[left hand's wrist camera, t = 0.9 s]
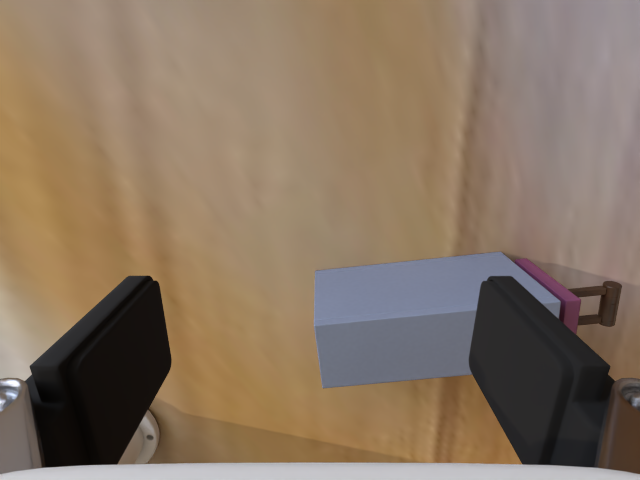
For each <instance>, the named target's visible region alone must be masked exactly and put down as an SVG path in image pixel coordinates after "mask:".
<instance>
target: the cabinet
mask: <svg viewBox="0 0 640 480" xmlns="http://www.w3.org/2000/svg"><path fill="white" fill-rule="evenodd" d="M490 276H512V277H513V278H514V279H516V280H517V281H518V282H519V283H520V284H521V285H522V286H523V287H524V288H525V289H526V290H528V291H529V292H530V293H531V294H532V295H533V296H534V297H535V298H536V299H537V300H539V301H540V302H541V303H542V304H543V305H544V306H545V307H546V308H547V309H548V310H549V311H551V312H552V313H553V314H554V315H555V316H556V317H557V318H558V319H559V313H560V305H561V301H560V300H559V299H557V298H556V297H555V296H554V295H553V294H551V293H550V292H549V291H548V290H546V289H545V288H544V287H543V286H542V285H540V284H539V283H538V282H537V281H536V280H534V279H533V278H532V277H531V276H529V275H528V274H527V273H526V272H525V271H523V270H522V269H521V268H520V267H519V266H517V265H516V264H515V263H514V262H512V261H511V260H510V259H509V258H508V257H506V256H505V255H504V254H503V253H502V252H494V253H484V254H474V255H465V256H455V257H445V258H435V259H426V260H416V261H406V262H397V263H387V264H377V265H368V266H358V267H348V268H339V269H329V270H319V271H315V305H314V329H315V336H316V344H317V351H318V358H319V366H320V373H321V380H322V388H332V387H343V386H353V385H364V384H375V383H386V382H397V381H408V380H418V379H429V378H440V377H451V376H462V375H473V374H472V373H471V371H470V367H469V353H470V347H471V341H472V335H473V329H474V323H475V317H476V311H477V304H478V298H479V292H480V286H481V283H482V282H483V281H487V279H488V277H490Z"/></svg>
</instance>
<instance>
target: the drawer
mask: <svg viewBox="0 0 640 480" xmlns="http://www.w3.org/2000/svg"><path fill="white" fill-rule="evenodd" d="M515 264H516V265H517V266H519V267H520V268H521V269H522V270H523V271H525V272H526V273H527V274H528V275H529V276H531V277H532V278H533V279H534V280H536V281H537V282H538V283H539V284H540V285H542V286H543V287H544V288H545V289H546V290H548V291H549V292H550V293H551V294H553V295H554V296H555V297H556V298H557V299H559V300H560V301H561V305H560V313H559V320H560V321H561V322H563V323H564V324H565V325H566V326H567V327H568V328H569V329H570V330H571V331H572V332H573V333H575V334H576V332H577V325H587V324H597V323H599V324H601V325H603V326H608V327H611V326H614V325H615V321H616V315H617V310H618V304H619V299H620V293H621V288H622V285H621V284H619V283H617V282H613V281H605V282H604V283H603V286H594V287H584V288H574V289H566V288H565V287H564V286H562V285H561V284H560V283H558V282H557V281H556V280H554V279H553V278H552V277H550V276H549V275H548V274H546V273H545V272H544V271H542V270H541V269H540V268H538V267H537V266H536V265H534V264H533V263H532V262H530V261H529V260H528V259H516V260H515ZM596 295H601V299H600V305H599V311H598V315H597V314H596V315H585V316H579V311H580V304H581V299H580V298H578V297H586V296H596Z"/></svg>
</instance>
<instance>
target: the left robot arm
mask: <svg viewBox="0 0 640 480" xmlns="http://www.w3.org/2000/svg"><path fill="white" fill-rule="evenodd" d="M170 367H171V353H170V347H169V341H168V335H167V329H166V323H165V317H164V311H163V304H162V298H161V292H160V286H159V283H158V282H157V281H153V279H152V277H150V276H128V277H127V278H126V279H124V280H123V281H122V282H121V283H120V284H119V285H118V286H117V287H116V288H115V289H114V290H112V291H111V292H110V293H109V294H108V295H107V296H106V297H105V298H104V299H103V300H101V301H100V302H99V303H98V304H97V305H96V306H95V307H94V308H93V309H92V310H91V311H89V312H88V313H87V314H86V315H85V316H84V317H83V318H82V319H81V320H80V321H79V322H77V323H76V324H75V325H74V326H73V327H72V328H71V329H70V330H69V331H68V332H67V333H65V334H64V335H63V336H62V337H61V338H60V339H59V340H58V341H57V342H56V343H55V344H53V345H52V346H51V347H50V348H49V349H48V350H47V351H46V352H45V353H44V354H43V355H41V356H40V357H39V358H38V359H37V360H36V361H35V362H34V363H33V364H32V365H30V369H31V372H32V375H31V376H30V377H29V378H28V379H27V380H26V381H23V380H21V379H18V378H4V379H0V480H640V379H636V378H622V379H619V380H617V381H614V380H613V379H612V378H611V377H610V376H609V375H608V372H609V369H610V365H608V364H607V363H606V362H605V361H604V360H603V359H602V358H601V357H600V356H599V355H597V354H596V353H595V352H594V351H593V350H592V349H591V348H590V347H589V346H588V345H587V344H585V343H584V342H583V341H582V340H581V339H580V338H579V337H578V336H577V335H576V334H575V333H573V332H572V331H571V330H570V329H569V328H568V327H567V326H566V325H565V324H564V323H563V322H561V321H560V320H559V319H558V318H557V317H556V316H555V315H554V314H553V313H552V312H551V311H549V310H548V309H547V308H546V307H545V306H544V305H543V304H542V303H541V302H540V301H539V300H537V299H536V298H535V297H534V296H533V295H532V294H531V293H530V292H529V291H528V290H526V289H525V288H524V287H523V286H522V285H521V284H520V283H519V282H518V281H517V280H516V279H514V278H513V277H512V276H490V277H488V279H487V281H483V282H482V283H481V286H480V292H479V298H478V304H477V311H476V317H475V323H474V329H473V335H472V341H471V347H470V353H469V367H470V371H471V373H472V374H473V376H474V378H475V380H476V382H477V383H478V385H479V387H480V389H481V391H482V392H483V394H484V396H485V398H486V400H487V401H488V403H489V405H490V407H491V409H492V410H493V412H494V414H495V416H496V418H497V419H498V421H499V423H500V425H501V427H502V428H503V430H504V432H505V434H506V436H507V437H508V439H509V441H510V443H511V445H512V446H513V448H514V450H515V452H516V454H517V455H518V457H519V459H520V461H521V463H522V464H523V465H517V464H467V463H173V464H146V463H147V462H148V461H149V460H150V459H151V458H152V456H153V454H154V453H155V451H156V449H157V446H158V443H159V437H160V433H159V427H158V425H157V422H156V420H155V418H154V417H153V415H152V414H151V412H150V411H149V410H148V409H149V407H150V405H151V403H152V401H153V400H154V398H155V396H156V394H157V392H158V391H159V389H160V387H161V385H162V383H163V382H164V380H165V378H166V376H167V374H168V373H169V371H170Z"/></svg>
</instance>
